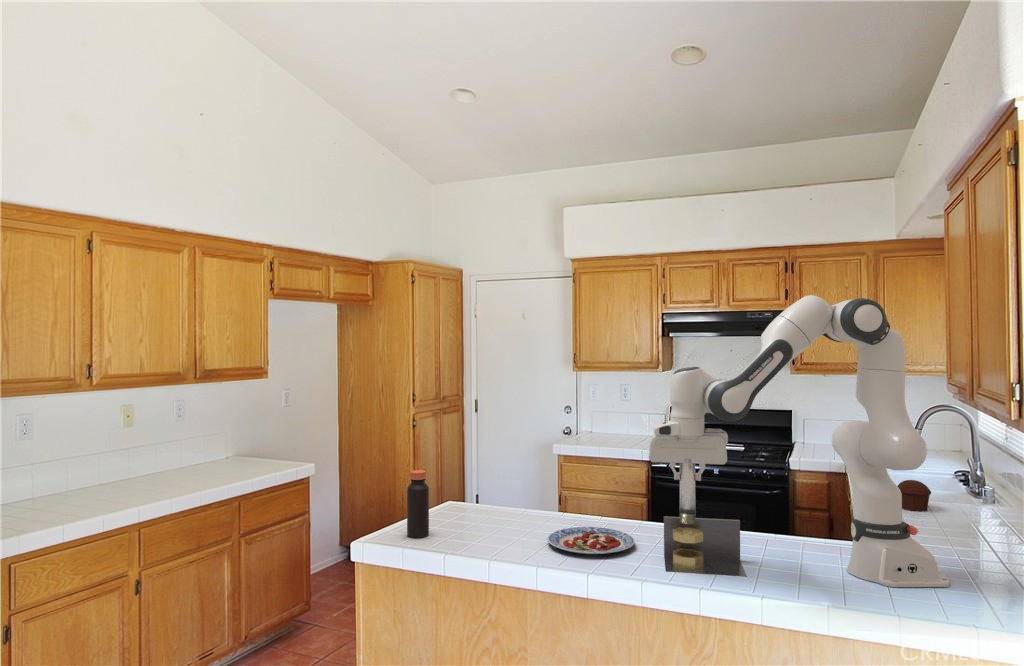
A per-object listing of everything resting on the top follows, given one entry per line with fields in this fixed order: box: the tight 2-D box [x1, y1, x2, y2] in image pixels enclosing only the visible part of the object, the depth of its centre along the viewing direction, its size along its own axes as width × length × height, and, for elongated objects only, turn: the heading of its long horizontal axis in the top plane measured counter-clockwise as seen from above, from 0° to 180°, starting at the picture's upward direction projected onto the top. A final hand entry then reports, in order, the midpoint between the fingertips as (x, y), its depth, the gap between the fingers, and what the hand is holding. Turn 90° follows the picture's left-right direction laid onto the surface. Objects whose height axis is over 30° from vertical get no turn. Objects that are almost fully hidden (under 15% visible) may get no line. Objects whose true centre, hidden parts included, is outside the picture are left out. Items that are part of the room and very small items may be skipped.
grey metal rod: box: [678, 459, 697, 524], centre depth 175 cm, size 4×4×17 cm
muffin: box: [897, 479, 932, 513], centre depth 238 cm, size 12×11×10 cm
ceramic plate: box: [546, 526, 636, 556], centre depth 196 cm, size 26×26×3 cm
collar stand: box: [663, 515, 748, 578], centre depth 174 cm, size 20×13×12 cm, turn 79°
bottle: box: [406, 469, 430, 539], centre depth 207 cm, size 7×7×20 cm
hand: (687, 479), depth 176 cm, fingers closed on grey metal rod, 4 cm apart
